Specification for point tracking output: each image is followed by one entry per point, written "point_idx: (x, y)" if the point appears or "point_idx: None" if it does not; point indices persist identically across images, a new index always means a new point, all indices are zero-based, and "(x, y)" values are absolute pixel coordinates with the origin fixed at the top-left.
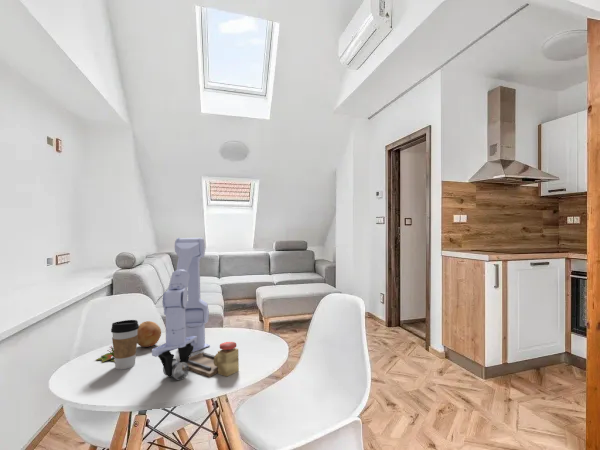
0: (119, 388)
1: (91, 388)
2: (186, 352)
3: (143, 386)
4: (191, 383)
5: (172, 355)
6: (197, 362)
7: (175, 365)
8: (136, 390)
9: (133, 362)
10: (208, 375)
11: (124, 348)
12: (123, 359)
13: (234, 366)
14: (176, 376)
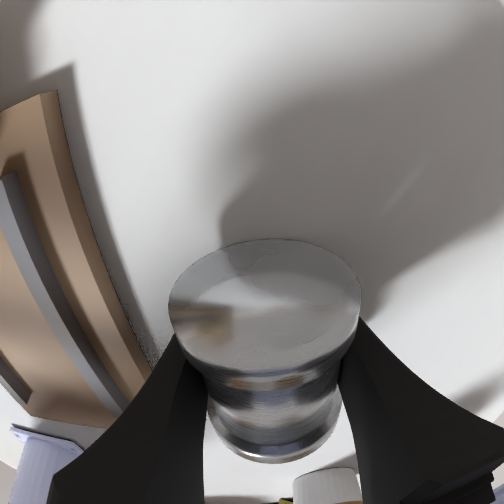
0: (477, 364)
1: (482, 402)
2: (158, 480)
3: (446, 324)
4: (245, 88)
5: (460, 470)
6: (65, 363)
7: (334, 364)
8: (485, 306)
9: (312, 483)
10: (52, 105)
11: None
12: (353, 497)
13: None
14: (326, 259)
